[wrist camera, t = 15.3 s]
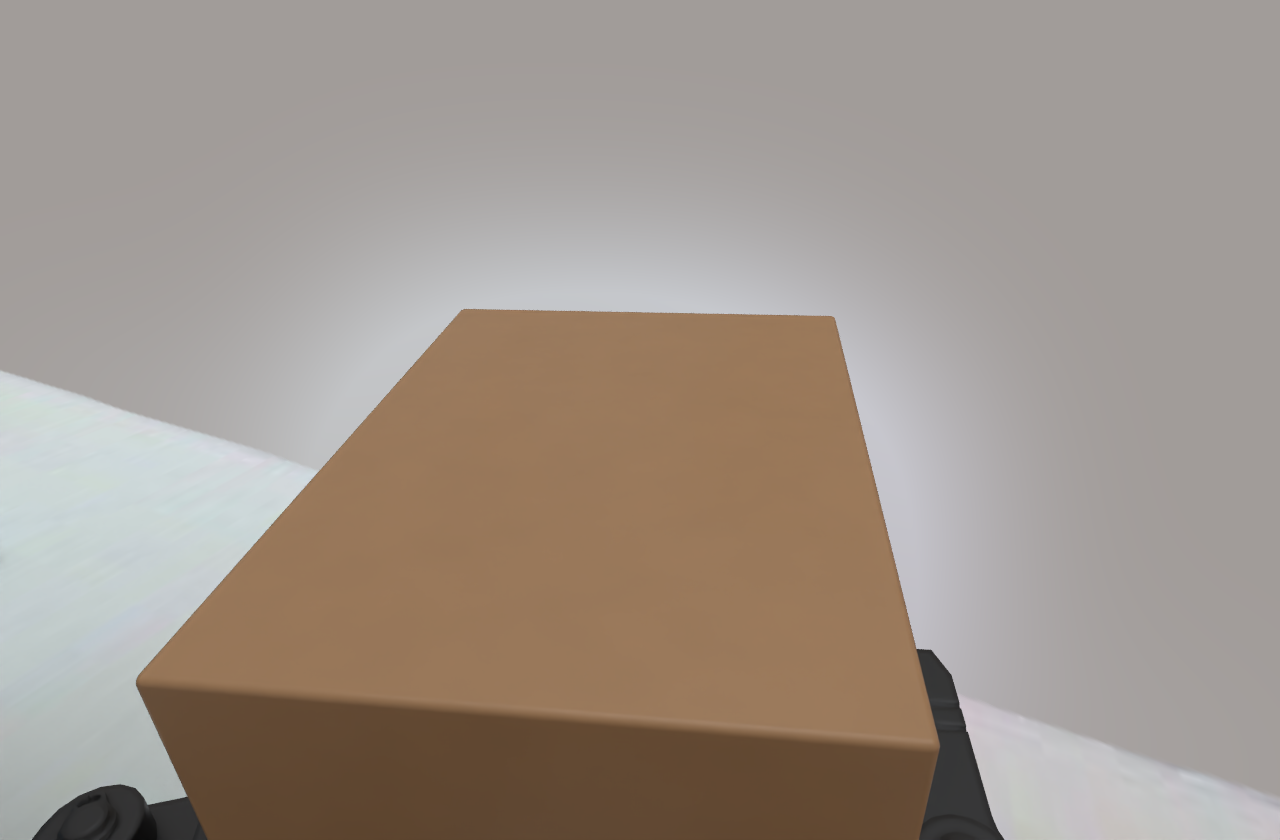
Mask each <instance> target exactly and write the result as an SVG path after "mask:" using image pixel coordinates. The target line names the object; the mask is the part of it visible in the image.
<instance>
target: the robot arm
mask: <svg viewBox="0 0 1280 840" xmlns="http://www.w3.org/2000/svg"><path fill="white" fill-rule="evenodd" d="M916 650H917V654H918V658H919V662H920V666H921V670H922V674H923V678H924V682H925V686H926V690H927V694H928V698H929V702H930V706H931V711H932V715H933V719H934V723H935V727H936V731H937V735H938V739H939V743H940V749H939V753H938V758H937V762H936V766H935V771H934V775H933V780H932V784H931V788H930V793H929V797H928V802H927V806H926V810H925V815H924V819H923V824H922V828H921V832H920V837H919V840H1004V838H1003V837H1002V835H1001V834H1000V833H999V831H998V829H997V827H996V825H995V822H994V820H993V817H992V815H991V811H990V808H989V804H988V801H987V797H986V794H985V790H984V787H983V783H982V780H981V776H980V773H979V769H978V766H977V762H976V759H975V756H974V752H973V749H972V745H971V742H970V738H969V735H968V732H966V724H965V721H964V717H963V714H962V710H961V709H960V707H959V700H958V696H957V693H956V689H955V686H954V682H953V679H952V676H951V674H950V673H949V672H948V670H947V669H946V668H945V667H944V665H943V664H942V663H941V662H940V660H939V659H938V658H937V657H936V655H935V654H934V653H933V652H932V650H922V649H916ZM32 840H208V839H207V837H206V835H205V833H204V831H203V829H202V826H201V824H200V822H199V820H198V818H197V816H196V813H195V811H194V809H193V807H192V805H191V803H190V801H189V798H188V797H185V798H180V799H175V800H170V801H165V802H160V803H156V804H151V805H147V803H146V801H145V799H144V798H143V796H142V795H141V794H140V793H139V792H138V791H137V790H136V788H133V787H129V786H125V785H121V784H120V785H112V786H105V787H100V788H97V789H95V790H92V791H90V792H87V793H85V794H82V795H80V796H78V797H77V798H75V799H74V800H72V801H71V802H69V803H68V804H66V805H65V806H63V807H62V808H60V809H59V810H58V811H57V812H56V813H55V814H54V815H53V816H52V817H51V818H50V819H49V820H48V821H47V822H46V823H45V824H44V825H43V826H42V827H41V828H40V830H39V831H38V832H37V834H36V835H35V836H34V837H33V839H32Z"/></svg>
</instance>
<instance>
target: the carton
mask: <svg viewBox="0 0 1280 840" xmlns="http://www.w3.org/2000/svg"><path fill="white" fill-rule="evenodd" d="M136 686H137V688H138V691H139V693H140V695H141V697H142V699H143V701H144V703H145V706H146V708H147V710H148V712H149V714H150V716H151V719H152V721H153V723H154V725H155V727H156V729H157V731H158V734H159V736H160V738H161V740H162V742H163V744H164V747H165V749H166V751H167V753H168V755H169V757H170V760H171V762H172V764H173V766H174V768H175V770H176V772H177V775H178V777H179V779H180V781H181V783H182V785H183V788H184V790H185V792H186V794H187V796H188V798H189V801H190V803H191V805H192V807H193V809H194V811H195V813H196V816H197V818H198V820H199V822H200V824H201V826H202V829H203V831H204V833H205V835H206V837H207V839H208V840H919V837H920V832H921V828H922V824H923V819H924V815H925V810H926V806H927V802H928V797H929V793H930V788H931V784H932V780H933V775H934V771H935V766H936V762H937V758H938V753H939V749H940V743H939V739H938V735H937V731H936V727H935V723H934V719H933V715H932V711H931V706H930V702H929V698H928V694H927V690H926V686H925V682H924V678H923V674H922V670H921V666H920V662H919V658H918V654H917V650H916V646H915V642H914V637H913V633H912V629H911V625H910V622H909V617H908V613H907V609H906V605H905V601H904V597H903V593H902V589H901V585H900V581H899V577H898V573H897V569H896V564H895V561H894V556H893V552H892V548H891V544H890V540H889V536H888V532H887V528H886V524H885V520H884V516H883V512H882V508H881V504H880V500H879V495H878V491H877V487H876V483H875V479H874V475H873V471H872V467H871V463H870V459H869V455H868V451H867V447H866V443H865V439H864V435H863V431H862V427H861V422H860V419H859V414H858V411H857V406H856V402H855V398H854V394H853V390H852V386H851V382H850V378H849V374H848V370H847V366H846V362H845V358H844V354H843V349H842V346H841V341H840V338H839V333H838V329H837V326H836V321H835V318H834V317H832V316H798V315H744V314H743V315H742V314H694V313H641V312H589V311H539V310H536V311H535V310H534V311H533V310H486V309H485V310H484V309H464V310H461V312H460V313H459V314H458V315H457V316H456V317H455V318H454V320H453V321H452V322H451V323H450V324H449V325H448V326H447V327H446V329H445V330H444V331H443V332H442V333H441V334H440V335H439V336H438V338H437V339H436V340H435V341H434V342H433V343H432V344H431V345H430V347H429V348H428V349H427V350H426V351H425V352H424V353H423V355H422V356H421V357H420V358H419V359H418V360H417V361H416V362H415V364H414V365H413V366H412V367H411V368H410V369H409V370H408V371H407V373H406V374H405V375H404V376H403V377H402V378H401V379H400V381H399V382H398V383H397V384H396V385H395V386H394V387H393V389H392V390H391V391H390V392H389V393H388V394H387V395H386V396H385V397H384V399H383V400H382V401H381V402H380V403H379V404H378V405H377V407H376V408H375V409H374V410H373V411H372V412H371V413H370V414H369V416H368V417H367V418H366V419H365V420H364V421H363V422H362V423H361V425H360V426H359V427H358V428H357V429H356V430H355V431H354V433H353V434H352V435H351V436H350V437H349V438H348V439H347V440H346V442H345V443H344V444H343V445H342V446H341V447H340V448H339V449H338V451H337V452H336V453H335V454H334V455H333V456H332V457H331V458H330V460H329V461H328V462H327V463H326V464H325V466H323V468H322V469H321V470H320V471H319V472H318V473H317V474H316V475H315V477H314V478H313V479H312V480H311V481H310V482H309V483H308V484H307V486H306V487H305V488H304V489H303V490H302V491H301V492H300V494H299V495H298V496H297V497H296V498H295V499H294V500H293V501H292V503H291V504H290V505H289V506H288V507H287V508H286V509H285V510H284V512H283V513H282V514H281V515H280V516H279V517H278V518H277V520H276V521H275V522H274V523H273V524H272V525H271V526H270V527H269V529H268V530H267V531H266V532H265V533H264V534H263V535H262V536H261V538H260V539H259V540H258V541H257V542H256V543H255V544H254V545H253V547H252V548H251V549H250V550H249V551H248V552H247V553H246V555H245V556H244V557H243V558H242V559H241V560H240V561H239V562H238V564H237V565H236V566H235V567H234V568H233V569H232V570H231V571H230V573H229V574H228V575H227V576H226V577H225V578H224V579H223V581H222V582H221V583H220V584H219V585H218V586H217V587H216V588H215V590H214V591H213V592H212V593H211V594H210V595H209V596H208V597H207V599H206V600H205V601H204V602H203V603H202V604H201V605H200V607H199V608H198V609H197V610H196V611H195V612H194V613H193V614H192V616H191V617H190V618H189V619H188V620H187V621H186V622H185V623H184V625H183V626H182V627H181V628H180V629H179V630H178V631H177V633H176V634H175V635H174V636H173V637H172V638H171V639H170V640H169V642H168V643H167V644H166V645H165V646H164V647H163V648H162V649H161V651H160V652H159V653H158V654H157V655H156V656H155V657H154V659H153V660H152V661H151V662H150V663H149V664H148V665H147V666H146V668H145V669H144V670H143V671H142V672H141V673H140V674H139V675H138V678H137V680H136Z"/></svg>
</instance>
